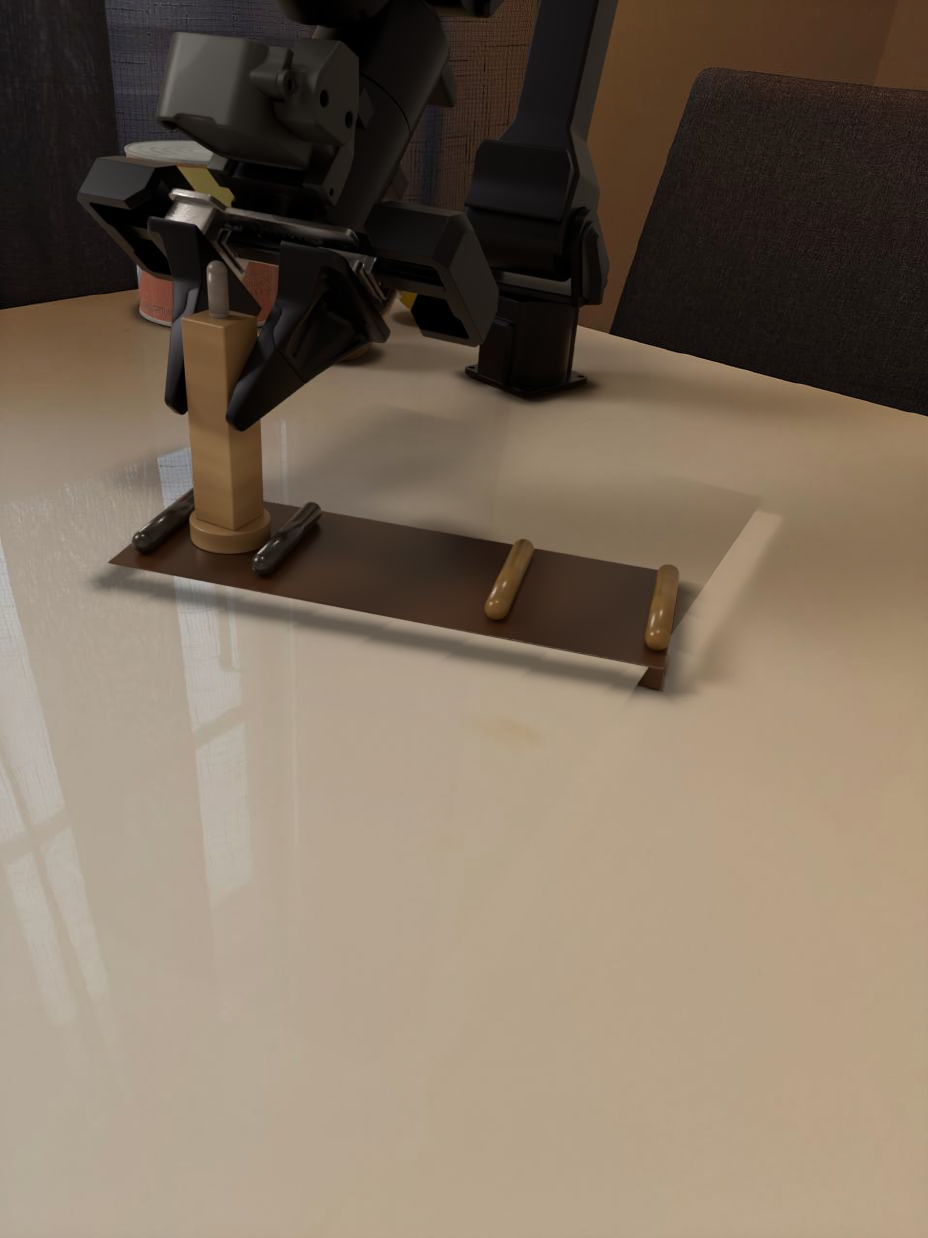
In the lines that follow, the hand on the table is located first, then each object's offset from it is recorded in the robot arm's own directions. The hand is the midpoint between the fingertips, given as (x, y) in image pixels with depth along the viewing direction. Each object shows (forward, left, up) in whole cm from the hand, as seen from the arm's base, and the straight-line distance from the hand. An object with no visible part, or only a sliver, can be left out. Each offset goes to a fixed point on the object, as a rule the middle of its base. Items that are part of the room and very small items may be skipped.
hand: (202, 417), depth 42 cm
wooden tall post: (-1, 0, -6) cm, 6 cm away
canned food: (-22, -38, -7) cm, 44 cm away
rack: (-6, +6, -7) cm, 11 cm away
